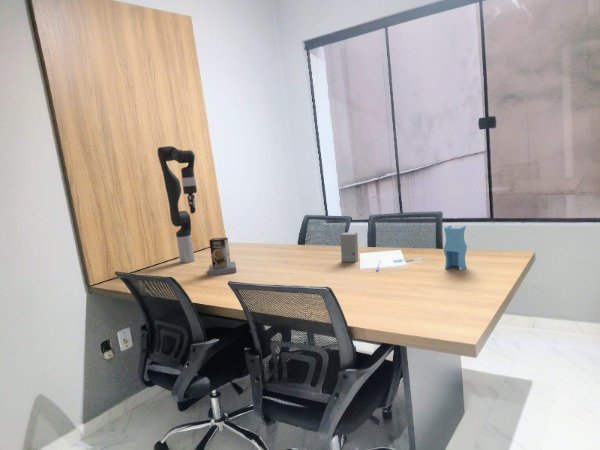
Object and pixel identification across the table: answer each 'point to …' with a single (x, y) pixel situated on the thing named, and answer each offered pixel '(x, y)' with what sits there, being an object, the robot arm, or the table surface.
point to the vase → (455, 247)
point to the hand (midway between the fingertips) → (193, 212)
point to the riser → (222, 269)
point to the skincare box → (349, 247)
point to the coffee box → (220, 252)
